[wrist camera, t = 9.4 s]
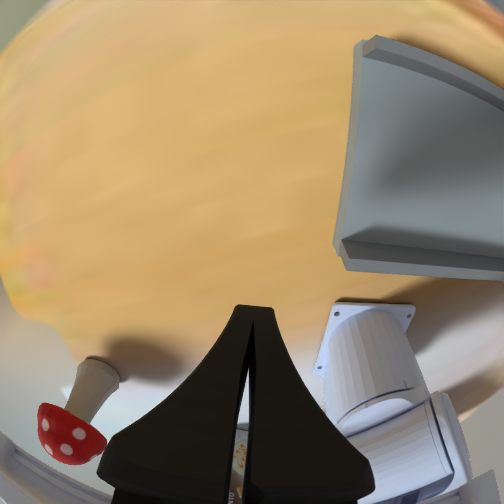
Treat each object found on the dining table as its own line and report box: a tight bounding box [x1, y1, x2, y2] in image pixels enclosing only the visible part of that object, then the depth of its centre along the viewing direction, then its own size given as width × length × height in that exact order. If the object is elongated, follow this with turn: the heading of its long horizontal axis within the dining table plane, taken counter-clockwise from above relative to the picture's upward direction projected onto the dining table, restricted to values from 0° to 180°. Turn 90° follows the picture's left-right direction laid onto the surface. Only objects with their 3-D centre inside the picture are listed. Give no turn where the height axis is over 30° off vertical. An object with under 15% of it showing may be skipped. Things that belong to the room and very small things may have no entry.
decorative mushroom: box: [37, 359, 120, 465], centre depth 24 cm, size 10×9×15 cm
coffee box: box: [228, 429, 248, 504], centre depth 28 cm, size 9×6×16 cm
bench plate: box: [333, 35, 504, 281], centre depth 14 cm, size 14×17×4 cm
